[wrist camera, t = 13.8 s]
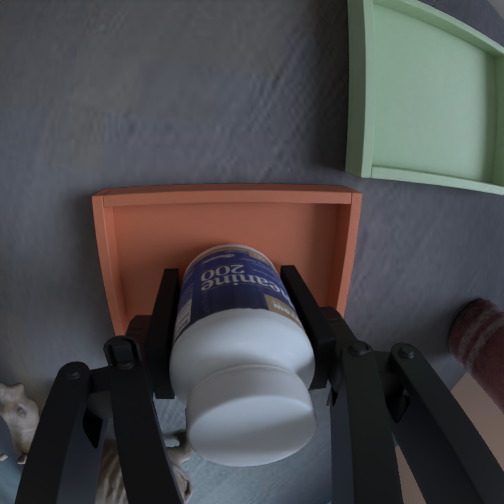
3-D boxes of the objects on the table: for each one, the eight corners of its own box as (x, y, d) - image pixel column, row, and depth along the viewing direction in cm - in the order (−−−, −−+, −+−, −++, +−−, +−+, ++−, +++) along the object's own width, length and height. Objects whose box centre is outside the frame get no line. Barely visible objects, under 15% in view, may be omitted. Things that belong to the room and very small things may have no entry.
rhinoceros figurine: (185, 491, 23) (91, 577, 9) (93, 395, 27) (-24, 433, 12) (231, 457, 22) (129, 570, 8) (123, 348, 26) (-21, 380, 11)
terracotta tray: (346, 186, 17) (362, 193, 15) (323, 348, 21) (332, 366, 19) (103, 188, 15) (90, 196, 13) (131, 356, 19) (126, 377, 17)
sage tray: (493, 53, 14) (511, 52, 12) (489, 189, 18) (507, 196, 16) (346, -9, 12) (361, -21, 10) (344, 171, 16) (360, 177, 14)
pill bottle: (292, 255, 17) (373, 385, 8) (259, 334, 18) (296, 476, 9) (194, 228, 15) (179, 361, 6) (171, 315, 17) (153, 465, 8)
